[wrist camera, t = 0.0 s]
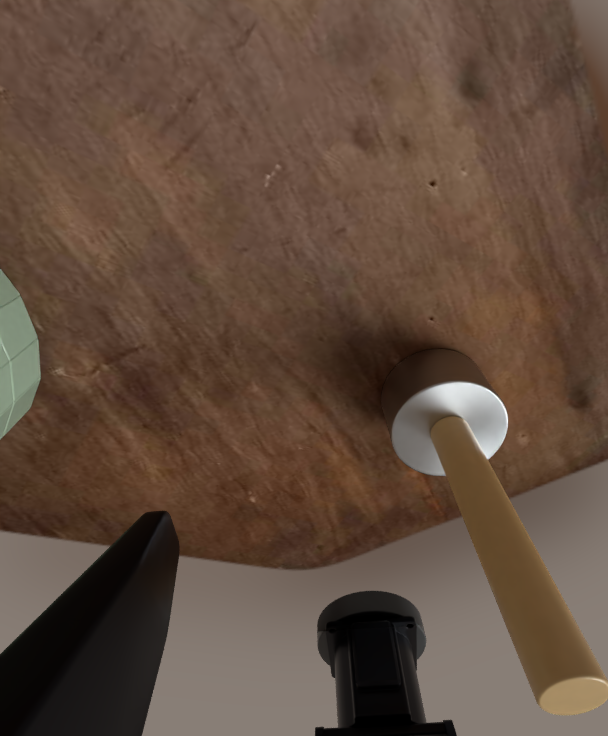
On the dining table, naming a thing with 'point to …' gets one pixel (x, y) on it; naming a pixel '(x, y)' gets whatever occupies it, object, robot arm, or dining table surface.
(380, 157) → the dining table surface
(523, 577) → the peg on silver base
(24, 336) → the mixing bowl
